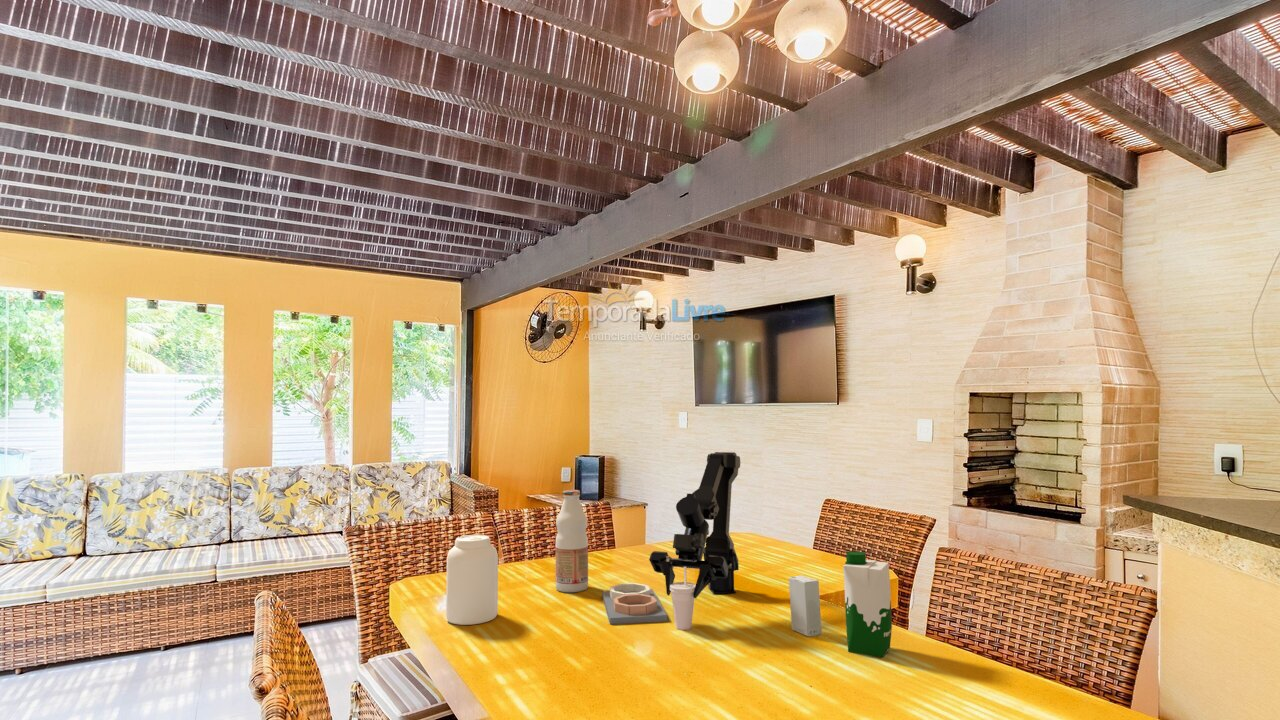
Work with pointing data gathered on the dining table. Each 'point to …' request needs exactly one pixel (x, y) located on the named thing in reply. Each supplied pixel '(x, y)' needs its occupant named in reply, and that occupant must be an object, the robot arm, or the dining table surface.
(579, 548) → the fruit juice
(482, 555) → the white plastic jar
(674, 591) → the smoothie
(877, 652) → the milk carton
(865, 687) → the dining table surface
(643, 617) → the board
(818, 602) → the skincare box
